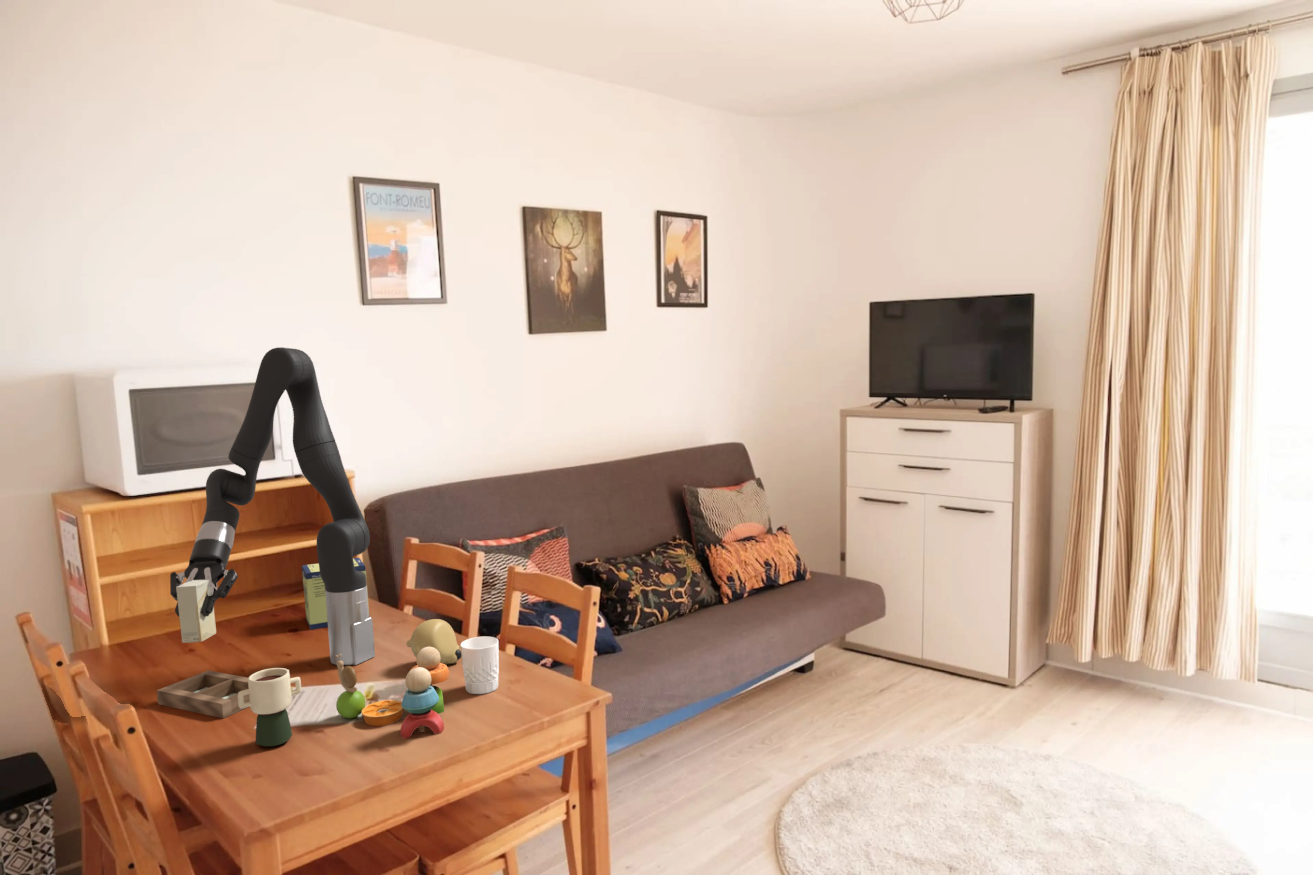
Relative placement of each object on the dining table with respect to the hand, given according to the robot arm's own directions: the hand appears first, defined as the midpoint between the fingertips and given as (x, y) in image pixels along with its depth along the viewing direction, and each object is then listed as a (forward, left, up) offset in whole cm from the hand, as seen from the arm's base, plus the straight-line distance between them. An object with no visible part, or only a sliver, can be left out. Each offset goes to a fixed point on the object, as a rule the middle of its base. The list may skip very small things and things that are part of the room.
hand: (192, 614), depth 180 cm
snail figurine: (-39, -4, -18) cm, 43 cm away
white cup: (-55, -25, -18) cm, 63 cm away
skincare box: (+1, -2, -6) cm, 6 cm away
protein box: (+13, -51, -18) cm, 56 cm away
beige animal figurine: (-36, -33, -18) cm, 52 cm away
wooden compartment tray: (-5, 0, -18) cm, 19 cm away
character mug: (-34, +10, -18) cm, 40 cm away
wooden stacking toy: (-52, -7, -18) cm, 55 cm away
